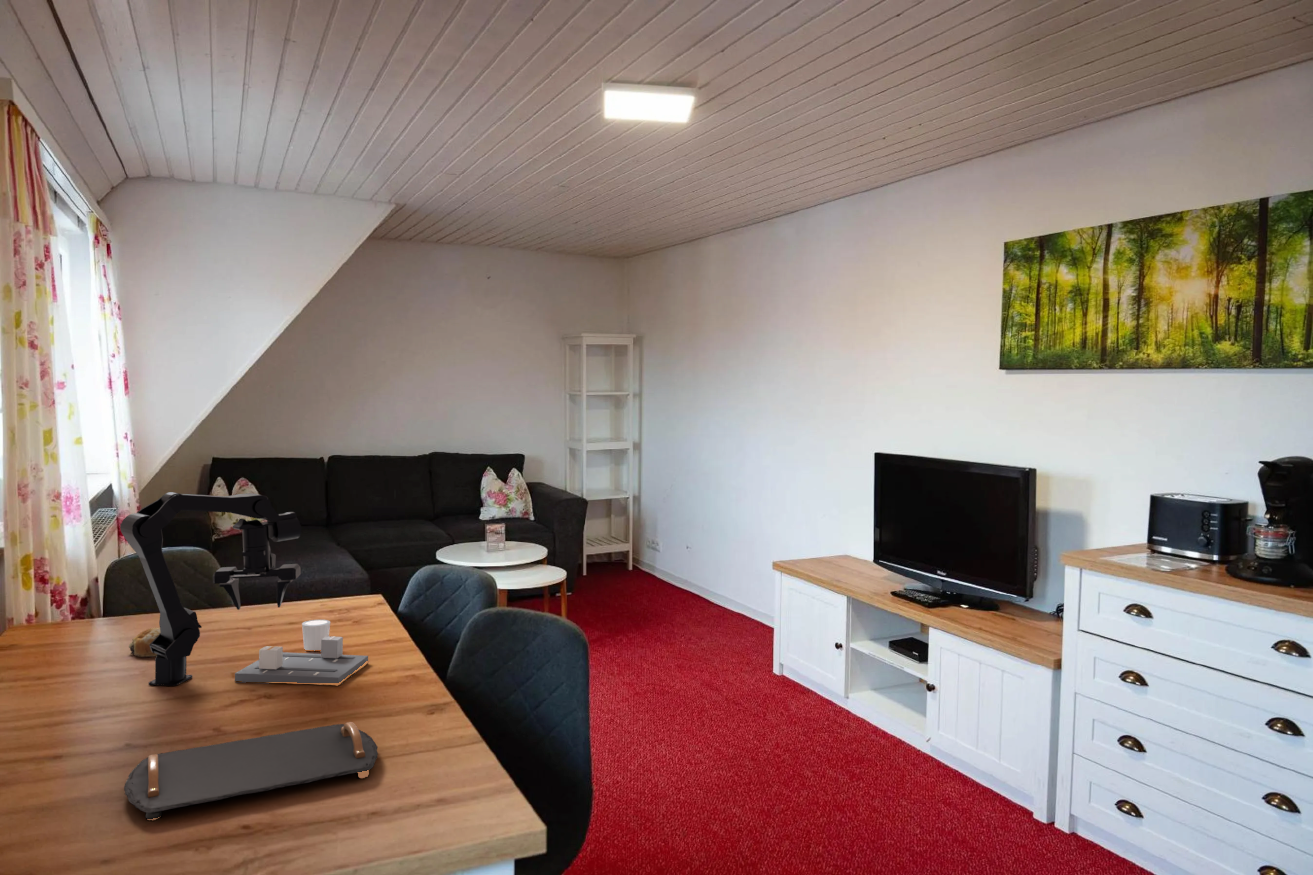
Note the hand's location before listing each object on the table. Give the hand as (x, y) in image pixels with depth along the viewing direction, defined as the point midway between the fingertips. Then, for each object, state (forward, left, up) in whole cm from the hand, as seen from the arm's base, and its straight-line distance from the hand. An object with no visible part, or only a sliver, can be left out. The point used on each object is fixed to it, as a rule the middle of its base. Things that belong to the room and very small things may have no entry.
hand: (259, 608), depth 204 cm
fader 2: (0, -19, -11) cm, 21 cm away
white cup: (+13, -9, -14) cm, 20 cm away
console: (-6, -15, -13) cm, 21 cm away
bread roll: (+5, +30, -14) cm, 33 cm away
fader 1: (-10, -9, -11) cm, 17 cm away
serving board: (-60, -32, -14) cm, 70 cm away
